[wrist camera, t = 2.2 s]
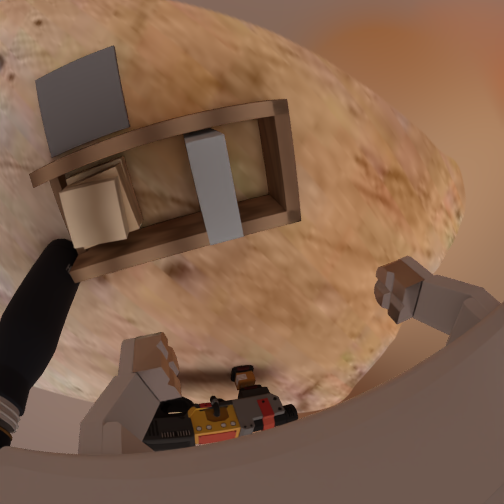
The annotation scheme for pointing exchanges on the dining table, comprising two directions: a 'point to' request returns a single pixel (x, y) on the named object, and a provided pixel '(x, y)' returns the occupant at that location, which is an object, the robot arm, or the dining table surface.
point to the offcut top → (95, 212)
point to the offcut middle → (128, 199)
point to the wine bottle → (33, 329)
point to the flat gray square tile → (82, 101)
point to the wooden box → (192, 226)
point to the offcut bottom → (101, 167)
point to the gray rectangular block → (214, 184)
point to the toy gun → (217, 416)
